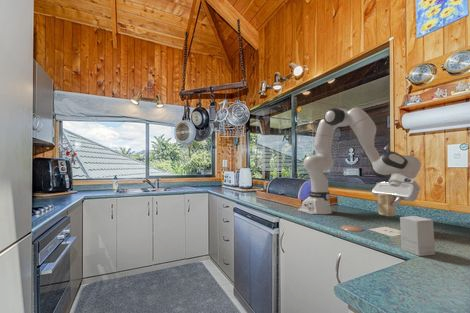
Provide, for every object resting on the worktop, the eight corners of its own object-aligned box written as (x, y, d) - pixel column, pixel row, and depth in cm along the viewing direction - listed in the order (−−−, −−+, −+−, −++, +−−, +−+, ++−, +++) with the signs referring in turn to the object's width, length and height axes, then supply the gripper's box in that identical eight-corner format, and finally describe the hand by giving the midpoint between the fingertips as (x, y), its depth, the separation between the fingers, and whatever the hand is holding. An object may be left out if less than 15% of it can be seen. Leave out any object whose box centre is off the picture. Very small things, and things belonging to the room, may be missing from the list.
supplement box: (436, 254, 84) (434, 219, 84) (418, 256, 82) (417, 221, 83) (416, 247, 91) (415, 215, 91) (400, 249, 90) (399, 216, 90)
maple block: (378, 214, 113) (377, 193, 114) (385, 213, 115) (385, 193, 115) (388, 216, 109) (387, 195, 109) (395, 215, 110) (395, 194, 111)
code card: (368, 229, 115) (368, 229, 115) (385, 226, 119) (385, 226, 119) (391, 236, 104) (391, 236, 104) (409, 233, 108) (409, 233, 108)
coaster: (337, 228, 118) (337, 227, 118) (347, 225, 124) (347, 224, 124) (357, 233, 110) (357, 232, 110) (367, 229, 116) (367, 228, 116)
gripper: (376, 177, 124) (363, 196, 121) (417, 180, 105) (403, 203, 102) (383, 185, 126) (370, 204, 122) (424, 189, 106) (411, 212, 103)
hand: (385, 204), depth 112 cm, fingers closed on maple block, 5 cm apart
